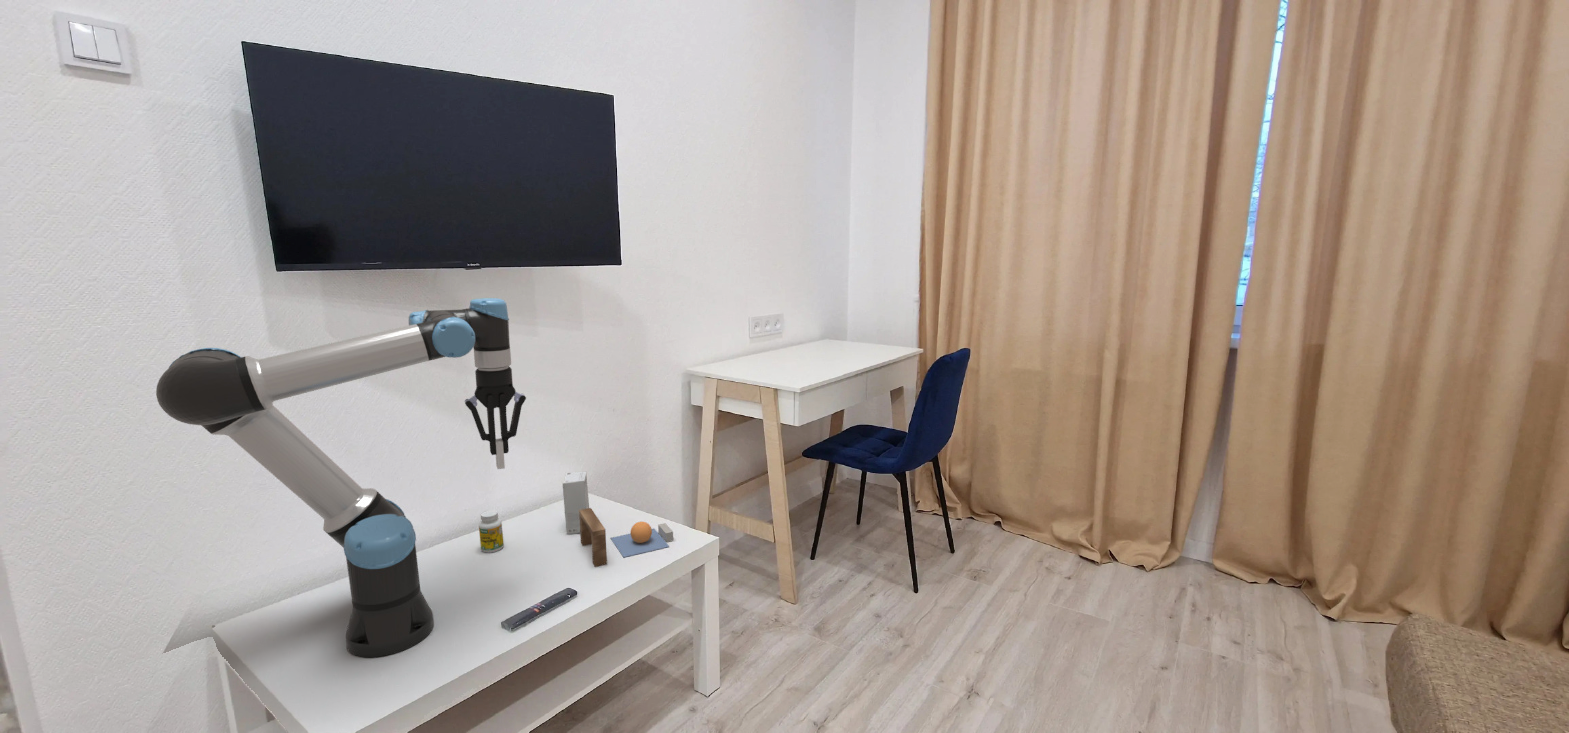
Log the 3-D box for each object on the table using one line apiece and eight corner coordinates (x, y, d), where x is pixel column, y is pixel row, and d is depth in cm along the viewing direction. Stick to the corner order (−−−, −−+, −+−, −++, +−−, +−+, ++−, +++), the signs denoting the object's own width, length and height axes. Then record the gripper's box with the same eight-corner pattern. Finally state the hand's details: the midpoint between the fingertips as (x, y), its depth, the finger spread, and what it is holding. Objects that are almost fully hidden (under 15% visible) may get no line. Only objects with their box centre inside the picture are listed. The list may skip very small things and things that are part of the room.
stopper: (666, 542, 173) (665, 533, 172) (658, 533, 178) (658, 524, 178) (673, 540, 174) (673, 531, 173) (665, 531, 179) (665, 523, 179)
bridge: (594, 567, 160) (592, 531, 158) (580, 542, 172) (579, 510, 170) (607, 564, 161) (605, 529, 159) (592, 540, 174) (590, 507, 172)
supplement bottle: (506, 543, 172) (503, 508, 170) (500, 552, 166) (497, 517, 164) (484, 544, 171) (481, 509, 169) (478, 553, 166) (474, 518, 164)
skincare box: (588, 533, 178) (585, 481, 175) (565, 535, 176) (562, 482, 173) (590, 520, 186) (587, 470, 183) (567, 521, 184) (565, 471, 181)
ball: (659, 533, 172) (645, 550, 171) (652, 525, 177) (638, 541, 176) (644, 522, 169) (629, 539, 168) (637, 514, 174) (623, 531, 173)
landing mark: (623, 557, 164) (623, 557, 164) (610, 538, 175) (610, 537, 175) (669, 547, 170) (669, 546, 170) (654, 529, 181) (654, 528, 180)
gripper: (521, 362, 154) (527, 458, 159) (460, 366, 148) (468, 466, 152) (526, 368, 148) (532, 467, 152) (462, 373, 141) (471, 476, 146)
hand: (500, 466), depth 152 cm, fingers closed
